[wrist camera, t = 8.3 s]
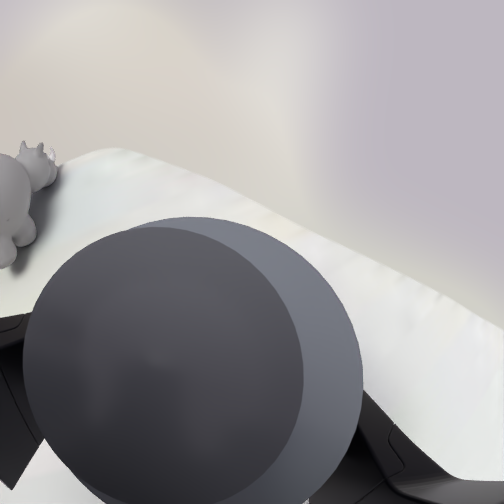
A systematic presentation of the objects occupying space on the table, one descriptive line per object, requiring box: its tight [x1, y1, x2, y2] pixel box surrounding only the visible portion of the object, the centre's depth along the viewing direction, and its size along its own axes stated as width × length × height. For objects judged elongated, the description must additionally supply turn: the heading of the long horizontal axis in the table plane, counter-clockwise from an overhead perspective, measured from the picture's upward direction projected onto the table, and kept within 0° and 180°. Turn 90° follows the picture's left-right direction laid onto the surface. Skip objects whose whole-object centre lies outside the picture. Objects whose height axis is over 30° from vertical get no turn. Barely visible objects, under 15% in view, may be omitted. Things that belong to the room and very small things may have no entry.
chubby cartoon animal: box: [0, 141, 58, 269], centre depth 18 cm, size 7×12×8 cm, turn 165°
